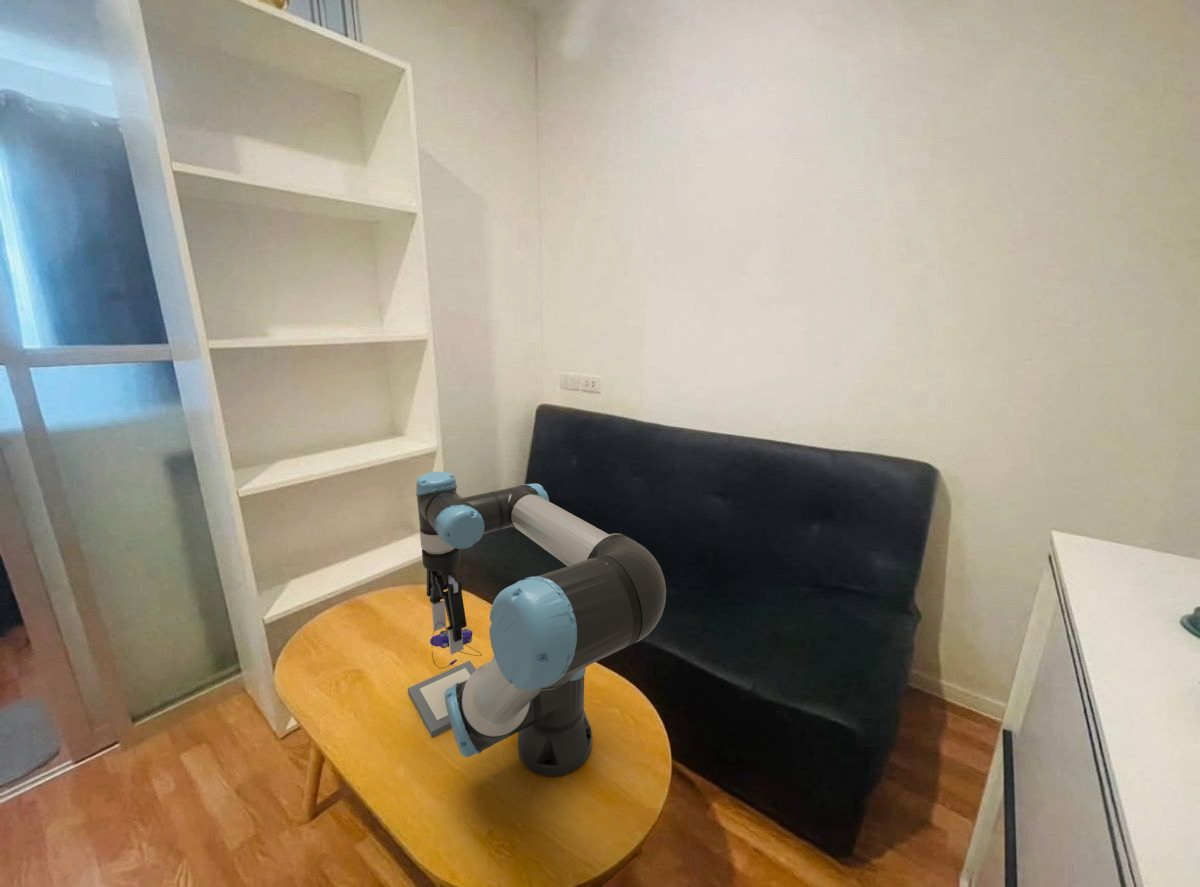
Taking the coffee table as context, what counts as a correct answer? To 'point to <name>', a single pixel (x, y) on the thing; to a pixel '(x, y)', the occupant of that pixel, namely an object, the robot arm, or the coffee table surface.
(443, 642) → the game controller
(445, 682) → the grey picture frame
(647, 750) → the coffee table surface
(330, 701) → the coffee table surface
